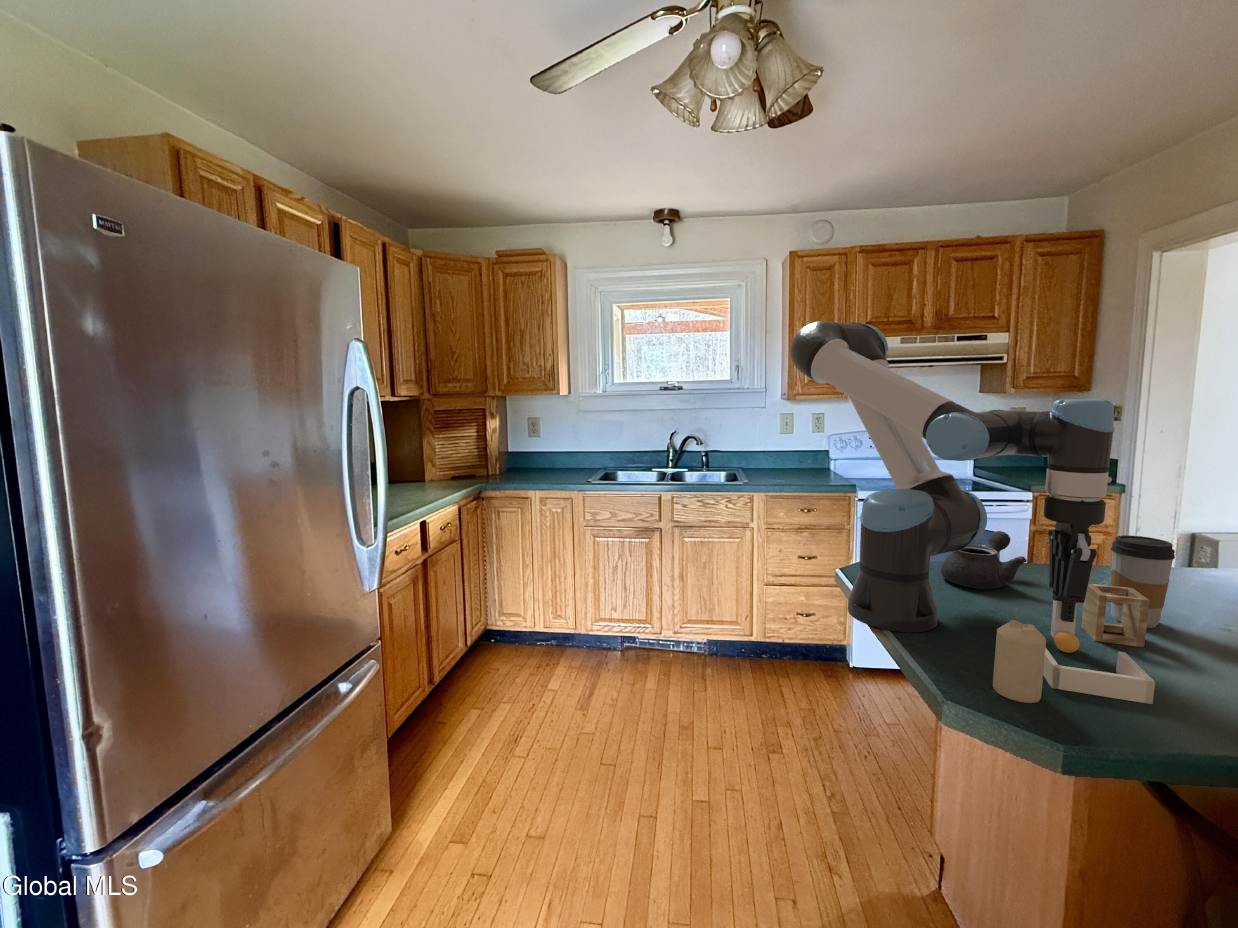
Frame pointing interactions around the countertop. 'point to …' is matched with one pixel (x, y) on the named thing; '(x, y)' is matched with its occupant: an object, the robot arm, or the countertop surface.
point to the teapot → (982, 564)
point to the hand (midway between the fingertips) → (1062, 636)
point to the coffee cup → (1142, 572)
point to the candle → (1019, 662)
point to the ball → (1066, 642)
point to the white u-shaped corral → (1102, 680)
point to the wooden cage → (1131, 615)
